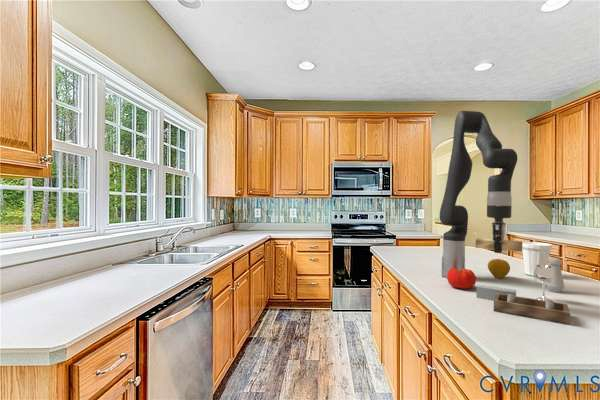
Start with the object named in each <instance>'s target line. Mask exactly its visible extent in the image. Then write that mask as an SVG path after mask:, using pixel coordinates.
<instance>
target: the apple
mask: <svg viewBox="0 0 600 400" xmlns="http://www.w3.org/2000/svg"><path fill="white" fill-rule="evenodd" d="M487 269H488V271H489V273H491V275H492V276H493V277H494V278H496V279H499V278H502V279H504V278H505V277H506V276H507V275H508V274H509V273H510V271H511V266H510V263H509V262H508V261H507V260H505V259H501V258H493V259H491V260H490V261H488V263H487Z"/></svg>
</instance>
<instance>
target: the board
mask: <svg viewBox="0 0 600 400" xmlns="http://www.w3.org/2000/svg"><path fill="white" fill-rule="evenodd" d="M522 242H523V241H521V240H520V241H519V240H505V239H504V240H502V242H500V243H502V251H507V252H508V251H509V252H521V253H523V251H522ZM475 248H476V249H485V250H494V241H493V238H479V237H477V238H476V239H475Z"/></svg>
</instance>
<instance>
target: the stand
mask: <svg viewBox="0 0 600 400" xmlns="http://www.w3.org/2000/svg"><path fill="white" fill-rule="evenodd" d="M496 293H499V294H505V295H508V294H513V295H515V296H517V290H516V289H511V288H506V287H499V286H498V287H497V286H491V285H486V284H485V285H484V284H479V283H478V284H477V286H476V298H477V299H483V300H488V301H489V300H490V301H494V298H495V296H496Z"/></svg>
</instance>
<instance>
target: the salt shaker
mask: <svg viewBox="0 0 600 400" xmlns="http://www.w3.org/2000/svg"><path fill="white" fill-rule="evenodd" d="M548 265H549V266H551V267H552V269H553V273H554V280H553V282H551V283H549V284H545V287H546V288H547V290H548V291H549V292H552V293H556V294H557V293H559V294H560V293H562V292H563V290H564V289H565V283H564V277H563V273H562V269H561V266H562V265H563V260H562V259H560V258H559V257H558V258H557V257H551V258H550V257H549V261H548Z"/></svg>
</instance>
